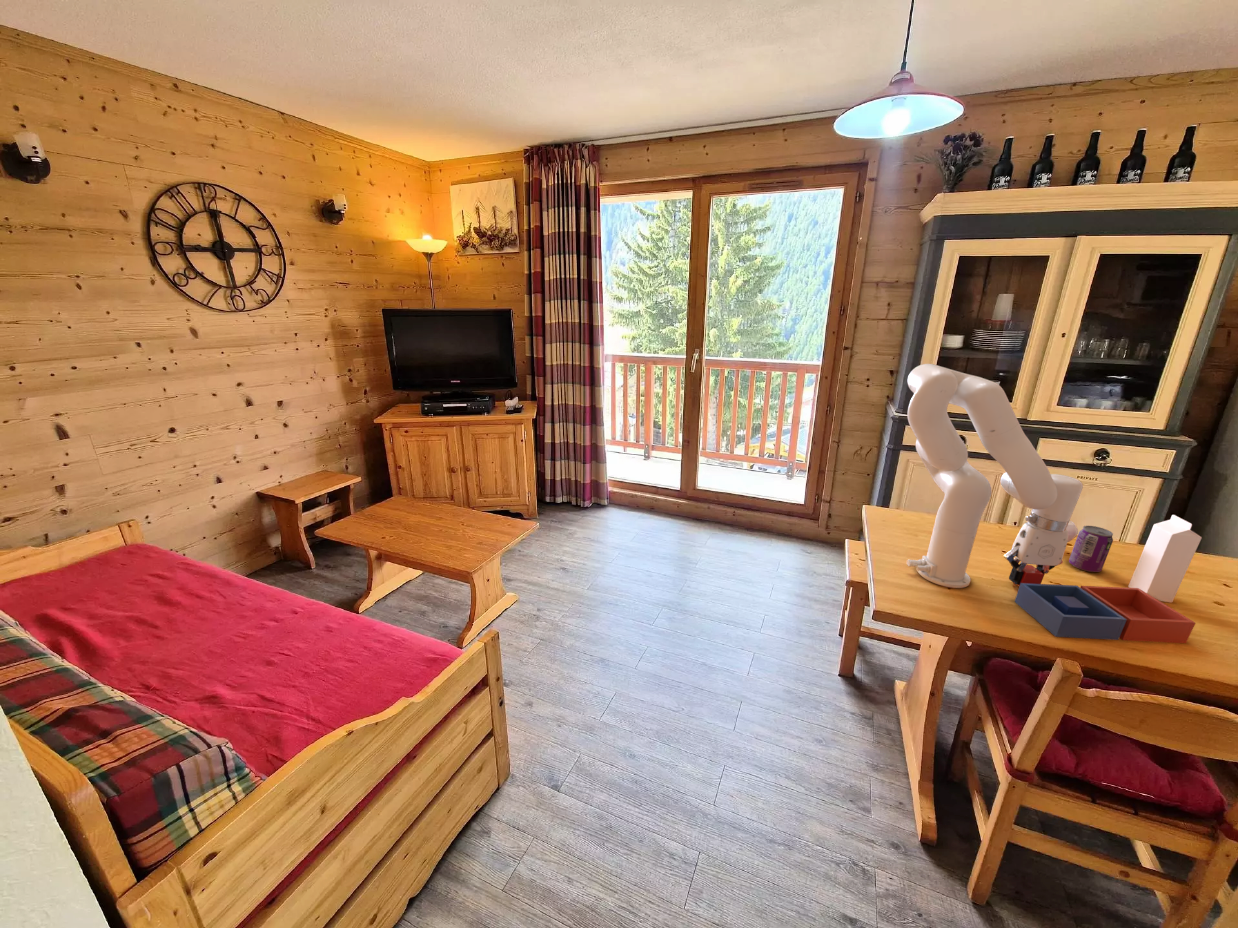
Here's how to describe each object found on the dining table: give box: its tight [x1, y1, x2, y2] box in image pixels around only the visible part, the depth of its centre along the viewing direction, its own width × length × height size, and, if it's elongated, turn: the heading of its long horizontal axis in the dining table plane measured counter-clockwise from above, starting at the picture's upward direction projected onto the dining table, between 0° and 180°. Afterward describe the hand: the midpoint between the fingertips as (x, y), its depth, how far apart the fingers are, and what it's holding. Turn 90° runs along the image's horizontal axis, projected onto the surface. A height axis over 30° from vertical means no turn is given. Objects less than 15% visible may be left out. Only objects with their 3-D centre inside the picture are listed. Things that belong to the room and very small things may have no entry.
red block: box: [1018, 564, 1045, 587], centre depth 130 cm, size 4×4×4 cm
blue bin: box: [1014, 583, 1127, 641], centre depth 116 cm, size 14×14×6 cm
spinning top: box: [1066, 520, 1079, 544], centre depth 148 cm, size 8×8×12 cm
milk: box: [1127, 514, 1202, 603], centre depth 124 cm, size 6×6×22 cm
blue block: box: [1051, 596, 1089, 616], centre depth 116 cm, size 4×4×4 cm
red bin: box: [1079, 585, 1196, 644], centre depth 115 cm, size 14×14×6 cm
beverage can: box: [1068, 525, 1114, 573], centre depth 138 cm, size 7×7×12 cm
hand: (1024, 582), depth 130 cm, fingers closed on red block, 4 cm apart
